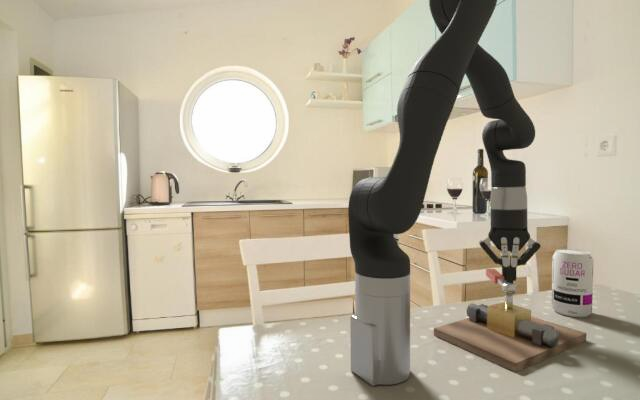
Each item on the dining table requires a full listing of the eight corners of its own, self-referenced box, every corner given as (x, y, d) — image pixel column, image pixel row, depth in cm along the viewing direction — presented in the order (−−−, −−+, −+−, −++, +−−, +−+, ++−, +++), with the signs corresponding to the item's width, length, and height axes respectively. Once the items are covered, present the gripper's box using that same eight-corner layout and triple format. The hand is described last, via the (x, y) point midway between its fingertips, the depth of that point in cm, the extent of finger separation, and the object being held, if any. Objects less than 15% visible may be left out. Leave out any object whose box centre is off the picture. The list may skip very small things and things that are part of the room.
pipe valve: (545, 355, 68) (546, 308, 68) (462, 324, 84) (463, 285, 83) (562, 348, 71) (563, 302, 71) (479, 319, 87) (479, 281, 86)
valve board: (515, 372, 64) (515, 363, 64) (433, 335, 79) (433, 328, 79) (586, 340, 76) (586, 333, 76) (503, 313, 91) (503, 307, 91)
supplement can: (578, 307, 96) (580, 248, 95) (599, 318, 87) (601, 255, 87) (545, 306, 96) (546, 248, 96) (562, 317, 88) (564, 254, 88)
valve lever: (518, 294, 75) (518, 286, 75) (504, 293, 76) (504, 285, 76) (496, 275, 90) (496, 269, 90) (484, 275, 90) (484, 268, 90)
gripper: (478, 208, 84) (479, 285, 85) (545, 207, 80) (546, 288, 80) (475, 206, 91) (476, 277, 92) (537, 205, 87) (538, 280, 87)
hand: (509, 282), depth 86 cm, fingers closed
